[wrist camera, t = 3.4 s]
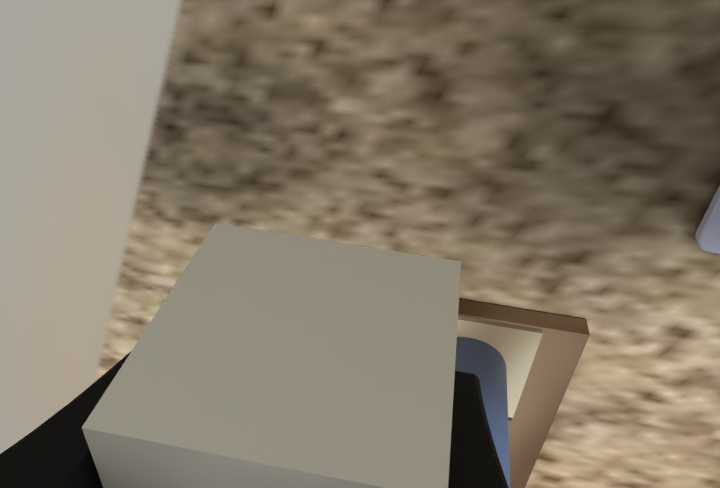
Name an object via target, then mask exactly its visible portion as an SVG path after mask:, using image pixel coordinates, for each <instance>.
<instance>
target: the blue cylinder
mask: <svg viewBox="0 0 720 488" xmlns="http://www.w3.org/2000/svg"><path fill="white" fill-rule="evenodd" d="M455 371H460V372H465V373H471V374H475V375H476V376H477V377H478V378H479V380H480V387H481V393H482V398H483V403H484V407H485V412H486V416H487V420H488V424H489V427H490V431H491V434H492V438H493V442H494V445H495V448H496V451H497V455H498V458H499V461H500V464H501V466H502V469H503V472H504V475H505V478H506V481H507V484H508V487H509V488H510V461H509V431H508V400H507V370H506V363H505V360H504V358H503V356H502V355H501V354H500V352H499V351H498V350H496V349H495V348H494V347H493V346H491V345H489V344H488V343H485V342H483V341H480V340H477V339H473V338H467V337H457V343H456V360H455Z"/></svg>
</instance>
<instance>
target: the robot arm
mask: <svg viewBox="0 0 720 488" xmlns="http://www.w3.org/2000/svg"><path fill="white" fill-rule="evenodd" d="M695 237H696V240H697V243H698V245H699V247H700V248H701V249H702V250H704V251H707V252H711V253H717V254H720V186H719V188H718V189H717V191H716V193H715V195H714V197H713V199H712V201H711V203H710V205H709V207H708V209H707V211H706V213H705V215H704V217H703V219H702V221H701V223H700V225H699V227H698V229H697V231H696V235H695ZM130 353H131V352H130ZM130 353H129V354H130ZM129 354H127V355H126V356H125V357H124V358H123V359H122V360H120V361H119V362H118V363H117V364H116V365H115V366H114V367H112V368H111V369H110V370H109V371H108V372H107V373H105V374H104V375H103V376H102V377H101V378H99V379H98V380H97V381H96V382H95V383H93V384H92V385H91V386H90V387H89V388H87V389H86V390H85V391H84V392H83V393H81V394H80V395H79V396H78V397H76V398H75V399H74V400H73V401H72V402H70V403H69V404H68V405H66V406H65V407H64V408H62V409H61V410H60V411H58V412H57V413H56V414H55V415H53V416H52V417H51V418H49V419H48V420H47V421H45V422H44V423H43V424H41V425H40V426H39V427H38V428H36V429H35V430H34V431H32V432H31V433H29V434H28V435H27V436H25V437H24V438H23V439H21V440H20V441H18V442H17V443H16V444H14V445H13V446H11V447H10V448H8V449H7V450H5V451H4V452H3V453H1V454H0V488H103V485H102V483H101V480H100V477H99V474H98V471H97V469H96V466H95V463H94V460H93V458H92V455H91V452H90V449H89V447H88V444H87V441H86V438H85V436H84V433H83V430H82V426H83V425H84V423H85V422H86V420H87V419H88V417H89V416H90V414H91V412H92V411H93V409H94V408H95V406H96V405H97V403H98V402H99V400H100V399H101V397H102V396H103V394H104V393H105V391H106V390H107V388H108V386H109V385H110V383H111V382H112V380H113V379H114V377H115V376H116V374H117V373H118V371H119V370H120V368H121V367H122V365H123V364H124V362H125V360H126V359H127V357H128V356H129ZM448 488H509V487H508V484H507V481H506V478H505V475H504V472H503V469H502V466H501V464H500V461H499V458H498V455H497V451H496V448H495V445H494V442H493V438H492V434H491V431H490V427H489V424H488V420H487V416H486V412H485V407H484V403H483V398H482V393H481V387H480V380H479V378H478V377H477V376H476V375H475V374H471V373H465V372H460V371H455V378H454V395H453V412H452V429H451V446H450V464H449V481H448Z"/></svg>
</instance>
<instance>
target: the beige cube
mask: <svg viewBox="0 0 720 488" xmlns="http://www.w3.org/2000/svg"><path fill="white" fill-rule="evenodd" d="M460 274H461V261H455V260H448V259H442V258H436V257H429V256H423V255H417V254H410V253H404V252H398V251H391V250H385V249H378V248H372V247H366V246H359V245H353V244H347V243H340V242H334V241H328V240H321V239H315V238H309V237H302V236H296V235H289V234H283V233H277V232H270V231H264V230H258V229H251V228H245V227H239V226H232V225H226V224H220V223H215V224H214V226H213V227H212V229H211V230H210V232H209V233H208V235H207V237H206V238H205V240H204V241H203V243H202V244H201V246H200V247H199V249H198V250H197V252H196V253H195V255H194V256H193V258H192V259H191V261H190V263H189V264H188V266H187V267H186V269H185V270H184V272H183V273H182V275H181V276H180V278H179V279H178V281H177V282H176V284H175V285H174V287H173V289H172V290H171V292H170V293H169V295H168V296H167V298H166V299H165V301H164V302H163V304H162V305H161V307H160V308H159V310H158V311H157V313H156V315H155V316H154V318H153V319H152V321H151V322H150V324H149V325H148V327H147V328H146V330H145V331H144V333H143V334H142V336H141V337H140V339H139V341H138V342H137V344H136V345H135V347H134V348H133V350H132V351H131V353H130V354H129V356H128V357H127V359H126V360H125V362H124V364H123V365H122V367H121V368H120V370H119V371H118V373H117V374H116V376H115V377H114V379H113V380H112V382H111V383H110V385H109V386H108V388H107V390H106V391H105V393H104V394H103V396H102V397H101V399H100V400H99V402H98V403H97V405H96V406H95V408H94V409H93V411H92V412H91V414H90V416H89V417H88V419H87V420H86V422H85V423H84V425H83V426H82V430H83V433H84V436H85V438H86V441H87V444H88V447H89V449H90V452H91V455H92V458H93V460H94V463H95V466H96V469H97V471H98V474H99V477H100V480H101V483H102V485H103V488H448V481H449V464H450V446H451V429H452V412H453V395H454V378H455V360H456V343H457V326H458V309H459V292H460Z"/></svg>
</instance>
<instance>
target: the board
mask: <svg viewBox="0 0 720 488" xmlns="http://www.w3.org/2000/svg"><path fill="white" fill-rule="evenodd" d="M457 337H467V338H473V339H477V340H480V341H483V342H485V343H488V344H489V345H491V346H493V347H494V348H495V349H496V350H498V351H499V352H500V354H501V355H502V356H503V358H504V360H505V363H506V370H507V400H508V431H509V461H510V488H525V486H526V483H527V481H528V479H529V476H530V474H531V472H532V469H533V467H534V465H535V462H536V460H537V458H538V455H539V453H540V450H541V448H542V446H543V443H544V441H545V439H546V436H547V434H548V432H549V429H550V427H551V425H552V422H553V420H554V417H555V415H556V413H557V410H558V408H559V406H560V403H561V401H562V399H563V396H564V394H565V392H566V389H567V387H568V384H569V382H570V380H571V377H572V375H573V373H574V370H575V368H576V366H577V363H578V361H579V359H580V356H581V354H582V351H583V349H584V347H585V344H586V342H587V340H588V337H589V331H588V325H587V320H586V319H580V318H574V317H568V316H562V315H555V314H549V313H543V312H537V311H531V310H525V309H519V308H512V307H506V306H500V305H494V304H488V303H482V302H476V301H469V300H463V299H459V309H458V326H457Z"/></svg>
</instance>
